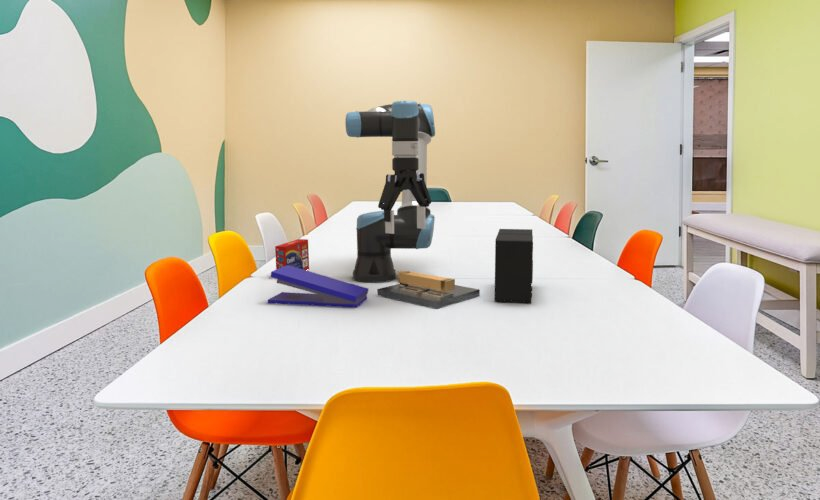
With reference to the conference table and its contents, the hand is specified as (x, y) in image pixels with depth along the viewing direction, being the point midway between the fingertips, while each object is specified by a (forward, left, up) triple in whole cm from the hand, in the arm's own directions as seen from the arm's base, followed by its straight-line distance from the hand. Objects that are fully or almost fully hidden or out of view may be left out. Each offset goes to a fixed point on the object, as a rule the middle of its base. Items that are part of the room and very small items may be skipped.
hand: (406, 230), depth 170 cm
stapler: (-19, -18, -21) cm, 34 cm away
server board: (+1, +8, -21) cm, 22 cm away
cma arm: (0, +7, -18) cm, 19 cm away
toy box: (-58, +1, -21) cm, 62 cm away
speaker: (+19, +28, -21) cm, 40 cm away
